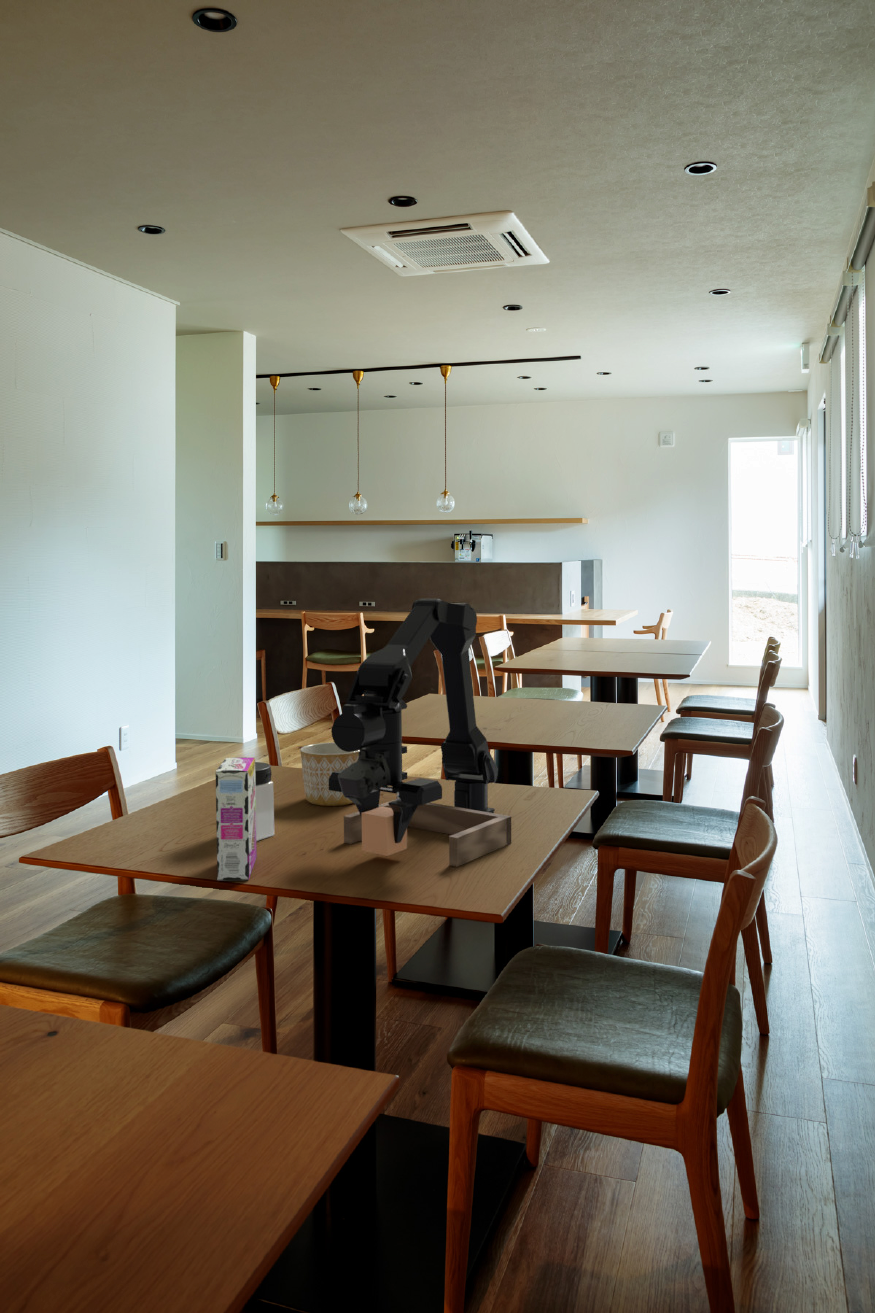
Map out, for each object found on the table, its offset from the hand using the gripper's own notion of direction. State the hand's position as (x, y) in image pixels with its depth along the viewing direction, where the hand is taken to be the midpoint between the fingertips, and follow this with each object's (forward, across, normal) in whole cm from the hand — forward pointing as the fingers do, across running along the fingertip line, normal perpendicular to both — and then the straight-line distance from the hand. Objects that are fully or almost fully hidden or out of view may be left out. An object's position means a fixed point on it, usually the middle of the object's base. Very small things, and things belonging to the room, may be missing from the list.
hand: (384, 840), depth 151 cm
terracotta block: (+2, 0, 0) cm, 2 cm away
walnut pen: (+3, 0, +10) cm, 11 cm away
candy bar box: (+3, -15, -17) cm, 23 cm away
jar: (+3, -28, -3) cm, 28 cm away
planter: (+3, -33, +24) cm, 41 cm away
